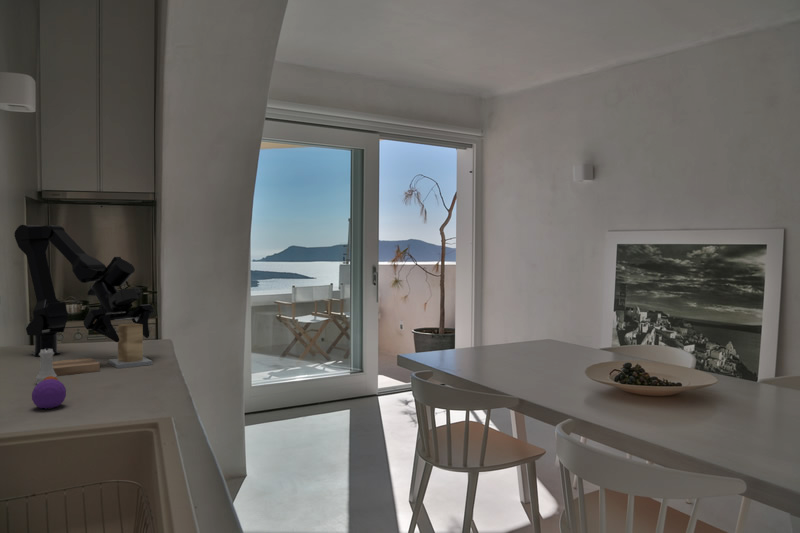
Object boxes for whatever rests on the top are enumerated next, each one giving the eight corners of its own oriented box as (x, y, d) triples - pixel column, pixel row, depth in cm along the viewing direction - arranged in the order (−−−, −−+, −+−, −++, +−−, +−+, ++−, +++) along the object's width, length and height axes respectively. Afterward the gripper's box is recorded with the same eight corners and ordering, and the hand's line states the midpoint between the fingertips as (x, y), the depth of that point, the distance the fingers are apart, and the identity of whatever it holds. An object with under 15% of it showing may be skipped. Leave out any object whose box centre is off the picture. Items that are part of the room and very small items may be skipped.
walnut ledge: (44, 369, 152) (44, 362, 152) (90, 364, 159) (90, 357, 159) (51, 376, 145) (51, 368, 145) (99, 371, 152) (99, 363, 152)
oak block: (118, 360, 161) (118, 324, 161) (132, 358, 165) (132, 323, 164) (127, 362, 159) (127, 326, 158) (142, 359, 162) (142, 324, 162)
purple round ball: (67, 371, 134) (69, 382, 116) (62, 397, 133) (62, 412, 116) (37, 369, 131) (34, 379, 113) (32, 395, 130) (28, 410, 113)
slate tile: (108, 363, 162) (108, 359, 162) (142, 359, 168) (142, 356, 168) (117, 368, 155) (117, 364, 155) (152, 364, 161) (152, 361, 161)
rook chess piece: (61, 381, 140) (61, 348, 140) (48, 385, 136) (48, 351, 135) (44, 380, 140) (44, 347, 140) (31, 384, 136) (30, 350, 136)
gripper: (89, 279, 155) (115, 323, 150) (150, 277, 171) (175, 317, 166) (72, 306, 159) (96, 351, 154) (133, 302, 175) (157, 341, 170)
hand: (133, 339), depth 161 cm, fingers open, 9 cm apart
